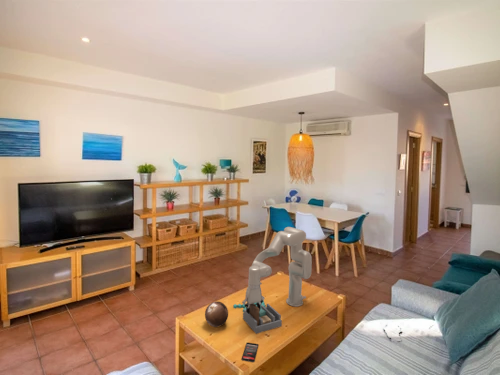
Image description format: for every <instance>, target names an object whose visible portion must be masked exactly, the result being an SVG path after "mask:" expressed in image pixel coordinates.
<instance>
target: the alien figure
mask: <svg viewBox="0 0 500 375" xmlns="http://www.w3.org/2000/svg"><path fill="white" fill-rule="evenodd" d="M264 300H265V299H264ZM264 300H263V302H262V304H261V305H263V306H264V307H267V304H266V302H265V301H264ZM257 303H258V302H257ZM257 303H254V304H255V305H256V306H257ZM232 308H233V309H241V308H243V309H242V313H244V310H245V309H246V306H245V305H244V304H243V303H242V304H241V303H238V304H236V303H235V304H233V306H232Z"/></svg>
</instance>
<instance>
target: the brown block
mask: <svg viewBox="0 0 500 375" xmlns="http://www.w3.org/2000/svg"><path fill="white" fill-rule="evenodd" d="M249 308H250V315H251V316H252V317H253V318H254V319H255V320H256V321H257V326H259V308H258V307H257V306H256V305H255V304H254V303H253V304H250V306H249Z"/></svg>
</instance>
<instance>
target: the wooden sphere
mask: <svg viewBox="0 0 500 375" xmlns="http://www.w3.org/2000/svg"><path fill="white" fill-rule="evenodd" d="M204 317H205V322H206V323H207V324H208V325H210V326H211V327H213V328H218V327H221V326H223V325H224V324H225V323H226V322H227V320H228V317H229V309H228V307H227V306H226V303H225V304H224V303H223V302H221V301H213V302H211V303H209V304H208V306H206V308H205V312H204Z"/></svg>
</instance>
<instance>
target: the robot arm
mask: <svg viewBox="0 0 500 375" xmlns="http://www.w3.org/2000/svg"><path fill="white" fill-rule="evenodd" d="M306 238H307V233H306V231H305V230H303V229H299V228H297V227H296V228H295V227H291V226H287V227H285V228H284V229H283V230H280V231H278V232H277V233H276V234H275V235H274V237H273V239H272V241H271V243H269V246H268V247H267V248H266V249H264V250H262V251H261V252H259V253H258V254H257V255H256V257H255V258H254V260H253V262H252V264H251V266H249V268H248V285H247V288H246V291H245V297H244V298H245V299H244V300H242V302H241V303H242V304H244V305H245V306H246V307H245V308H246V312H247V313H248V314H250V308H249V306H250V304H253V303H257V302H258V303H257V307H258V308H259V311H260V308H261V304H262V302H263V300H265V296H263V295H262V294H263V293H262V286H261V285H262V283H263V282H261V278H267V277H269V276H271V274H272V272H273V270H272V267H271V266H270V265H268V264H266V263H264V260H266V259H268V258H270V257H276V256H277V257H278V256H279V255H280V254H281V252H282V250H283V249H284V247H285V246H288V247H290V259H291V260H292V261H291V262H289V264H288V275H289V276H288V278H289V280H288V297H287V298H286V300H285V302H286V304H287V305H289V306H291V307H301V306H302V305H303V304H304V301H303V300H305V299H307V296H306V295H303V294H302V289H303V288H302V287H303V279H304V280H307V279H309V278H310V277H311V275H312V265H313V264H312V259H313V257H312V255H311V253H310V251H307V250H304V249H303V242H305V240H306Z"/></svg>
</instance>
